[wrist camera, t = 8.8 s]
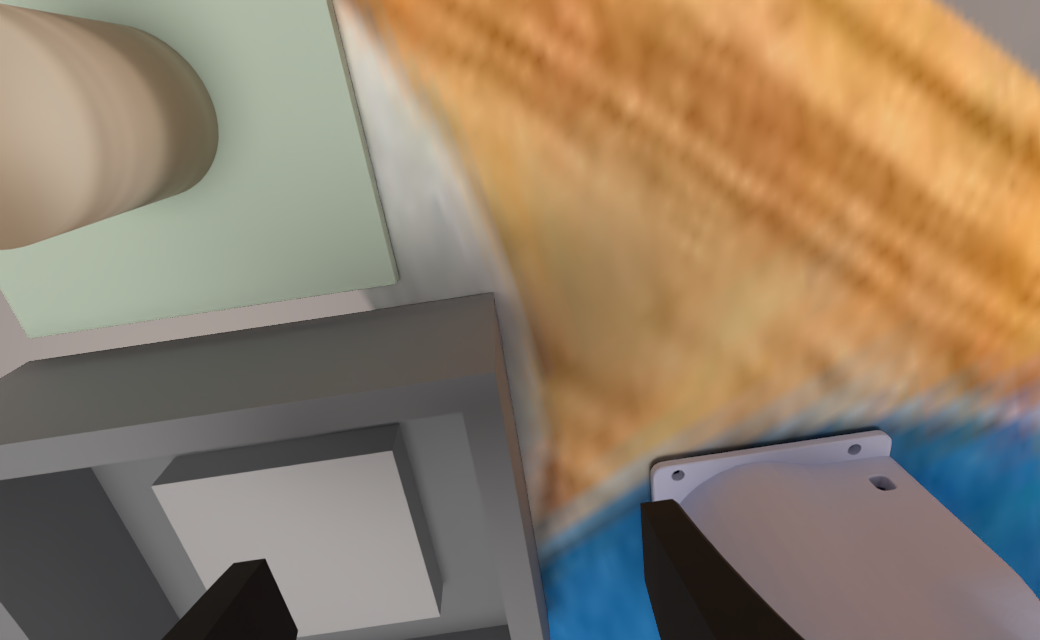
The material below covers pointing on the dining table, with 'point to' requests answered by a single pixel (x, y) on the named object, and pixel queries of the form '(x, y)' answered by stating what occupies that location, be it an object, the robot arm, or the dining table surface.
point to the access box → (274, 481)
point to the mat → (226, 181)
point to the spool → (93, 123)
